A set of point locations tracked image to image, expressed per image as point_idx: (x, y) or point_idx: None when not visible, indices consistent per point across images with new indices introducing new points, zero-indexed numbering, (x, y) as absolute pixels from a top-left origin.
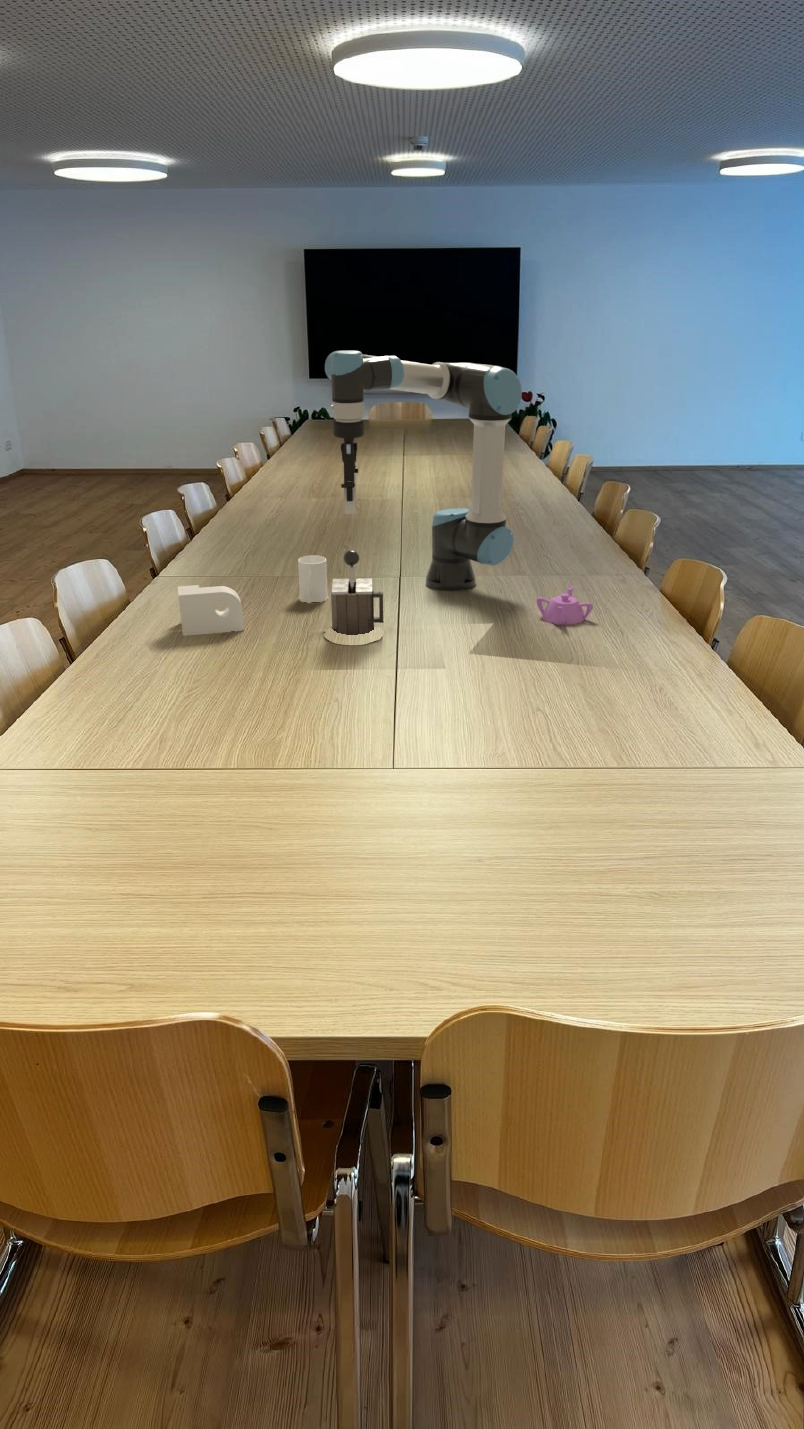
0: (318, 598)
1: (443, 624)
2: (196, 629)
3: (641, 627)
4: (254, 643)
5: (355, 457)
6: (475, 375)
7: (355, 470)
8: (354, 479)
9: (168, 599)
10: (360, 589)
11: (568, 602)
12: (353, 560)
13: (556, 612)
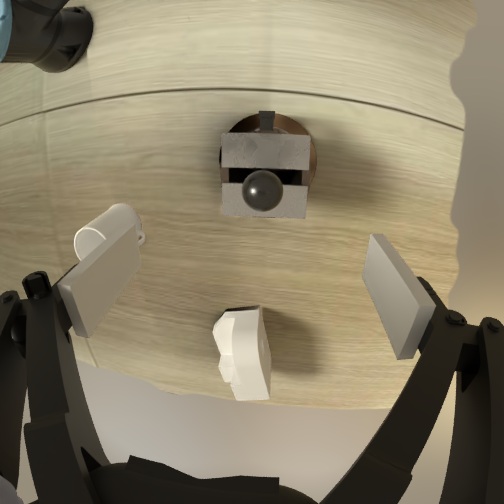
0: (135, 218)
1: (229, 23)
2: (268, 355)
3: None
4: (290, 293)
5: (397, 500)
6: None
7: (41, 295)
8: (88, 278)
9: (153, 369)
10: (294, 159)
11: None
12: (282, 186)
13: None
